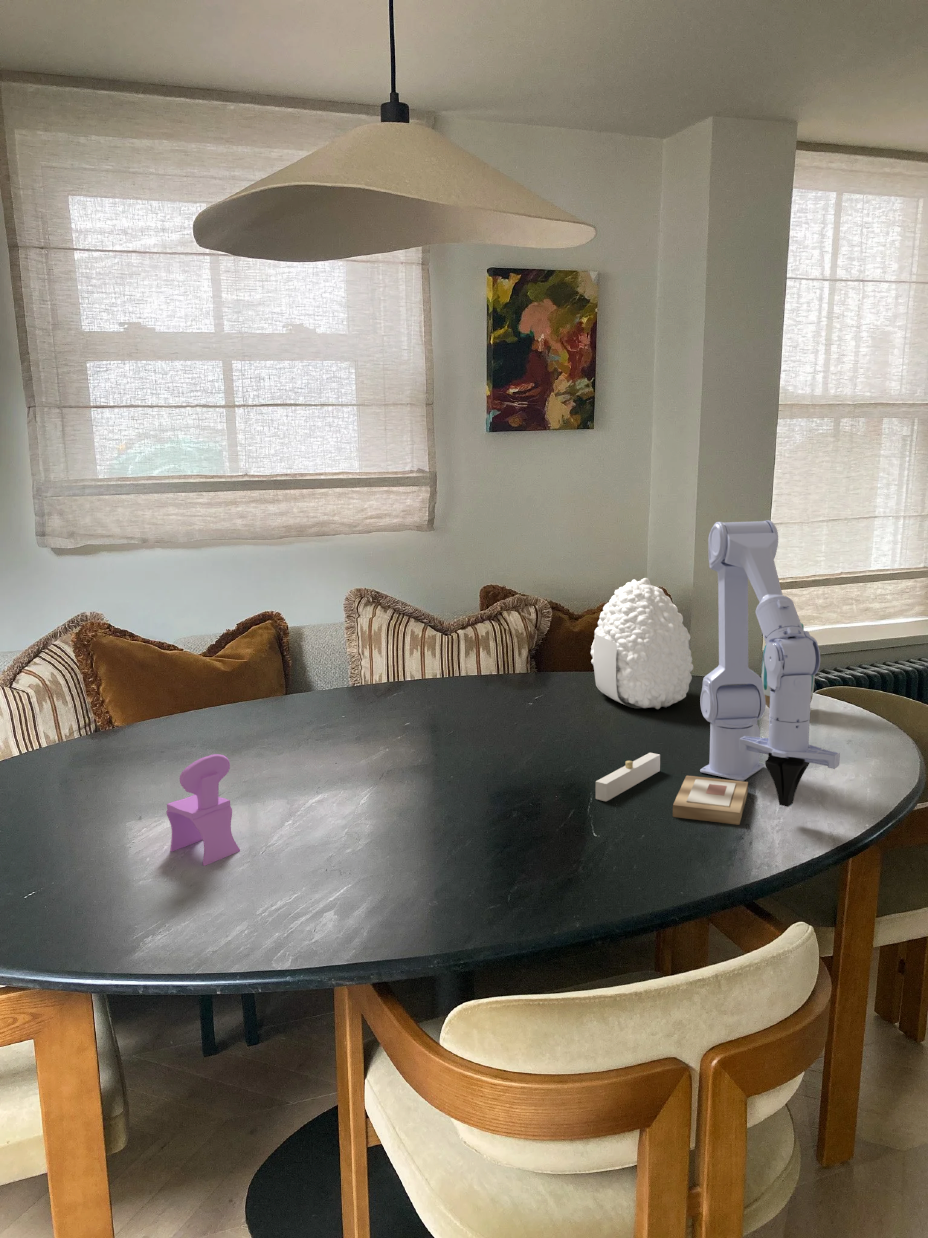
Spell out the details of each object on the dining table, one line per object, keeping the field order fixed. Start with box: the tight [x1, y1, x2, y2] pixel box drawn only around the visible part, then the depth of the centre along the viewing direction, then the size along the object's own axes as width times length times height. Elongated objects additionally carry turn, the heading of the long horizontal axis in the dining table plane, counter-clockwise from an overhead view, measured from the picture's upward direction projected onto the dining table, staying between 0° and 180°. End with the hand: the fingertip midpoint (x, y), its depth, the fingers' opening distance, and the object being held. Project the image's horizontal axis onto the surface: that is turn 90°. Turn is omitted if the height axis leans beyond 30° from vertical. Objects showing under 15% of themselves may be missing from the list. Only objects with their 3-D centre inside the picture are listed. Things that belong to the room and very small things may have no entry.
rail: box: [595, 752, 661, 802], centre depth 160 cm, size 18×2×4 cm, turn 140°
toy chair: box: [165, 753, 241, 867], centre depth 137 cm, size 8×9×15 cm
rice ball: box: [590, 577, 694, 710], centre depth 210 cm, size 28×19×28 cm
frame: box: [672, 775, 749, 826], centre depth 151 cm, size 14×10×3 cm
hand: (786, 804), depth 143 cm, fingers closed
